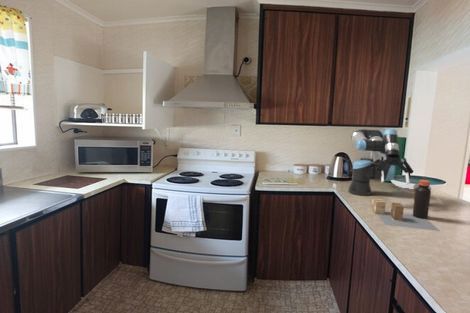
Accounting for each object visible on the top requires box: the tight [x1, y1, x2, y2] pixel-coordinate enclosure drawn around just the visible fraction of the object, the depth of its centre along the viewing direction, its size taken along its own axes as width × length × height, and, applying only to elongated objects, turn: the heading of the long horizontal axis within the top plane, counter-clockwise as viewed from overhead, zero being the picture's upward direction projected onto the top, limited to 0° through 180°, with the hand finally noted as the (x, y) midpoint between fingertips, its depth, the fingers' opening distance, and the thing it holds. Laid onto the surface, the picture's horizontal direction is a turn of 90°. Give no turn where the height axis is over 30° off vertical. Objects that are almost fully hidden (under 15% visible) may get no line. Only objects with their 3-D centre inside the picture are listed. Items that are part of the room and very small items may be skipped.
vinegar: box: [412, 179, 432, 219], centre depth 148 cm, size 7×7×20 cm
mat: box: [377, 211, 441, 232], centre depth 144 cm, size 22×24×1 cm
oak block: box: [370, 198, 386, 215], centre depth 154 cm, size 5×5×7 cm
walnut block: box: [390, 201, 405, 221], centre depth 145 cm, size 6×4×8 cm, turn 166°
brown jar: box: [412, 183, 432, 201], centre depth 173 cm, size 10×10×12 cm
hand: (395, 182), depth 163 cm, fingers open, 13 cm apart
